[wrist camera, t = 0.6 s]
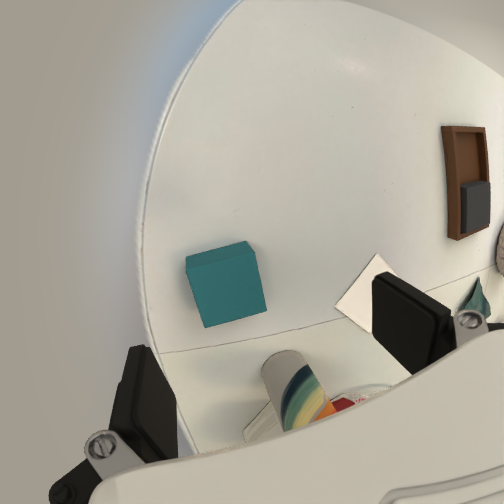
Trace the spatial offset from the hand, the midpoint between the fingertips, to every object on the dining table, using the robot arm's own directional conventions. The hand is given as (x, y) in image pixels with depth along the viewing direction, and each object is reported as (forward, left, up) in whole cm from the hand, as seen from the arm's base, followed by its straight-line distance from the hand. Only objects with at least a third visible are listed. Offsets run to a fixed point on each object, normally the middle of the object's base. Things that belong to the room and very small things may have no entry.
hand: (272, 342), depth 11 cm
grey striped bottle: (+18, +3, -18) cm, 26 cm away
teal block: (+4, -1, -17) cm, 18 cm away
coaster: (+12, +16, -18) cm, 27 cm away
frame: (0, +35, -17) cm, 39 cm away
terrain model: (+25, +41, -18) cm, 51 cm away
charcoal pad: (+4, +35, -17) cm, 39 cm away
